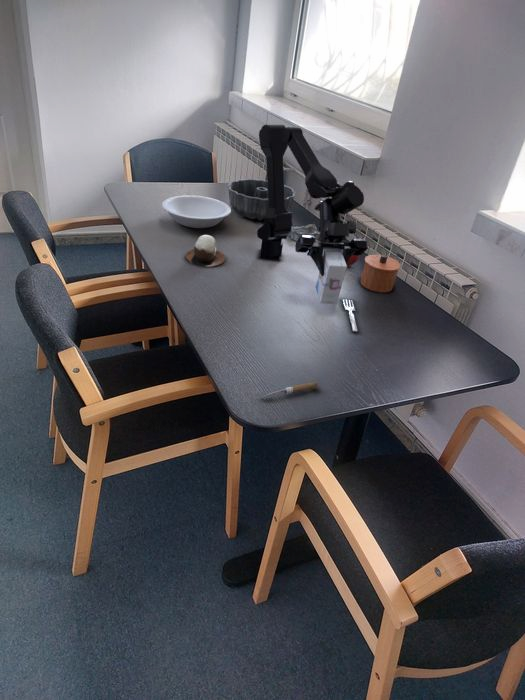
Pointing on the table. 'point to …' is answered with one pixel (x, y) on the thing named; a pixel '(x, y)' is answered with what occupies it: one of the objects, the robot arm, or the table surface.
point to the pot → (378, 279)
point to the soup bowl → (196, 210)
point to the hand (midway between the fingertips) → (332, 276)
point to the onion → (352, 260)
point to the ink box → (331, 277)
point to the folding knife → (292, 389)
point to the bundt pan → (254, 197)
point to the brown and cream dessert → (205, 252)
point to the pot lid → (382, 262)
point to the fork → (351, 314)
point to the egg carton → (304, 232)
